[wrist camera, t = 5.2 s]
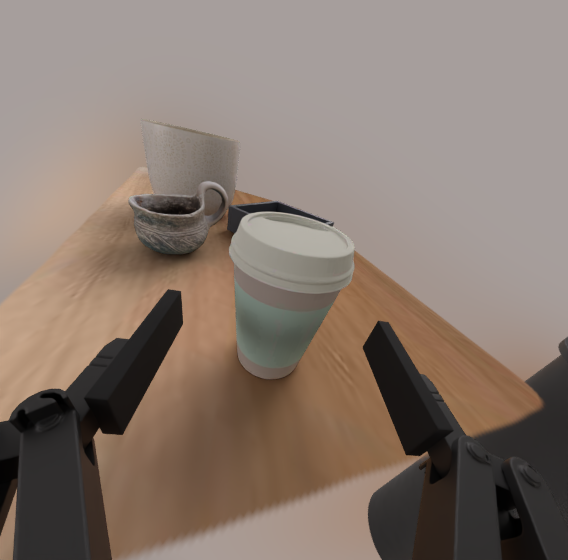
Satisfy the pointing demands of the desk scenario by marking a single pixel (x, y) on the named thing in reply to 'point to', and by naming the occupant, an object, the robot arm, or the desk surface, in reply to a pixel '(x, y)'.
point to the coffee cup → (284, 286)
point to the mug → (175, 219)
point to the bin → (274, 206)
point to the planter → (190, 162)
